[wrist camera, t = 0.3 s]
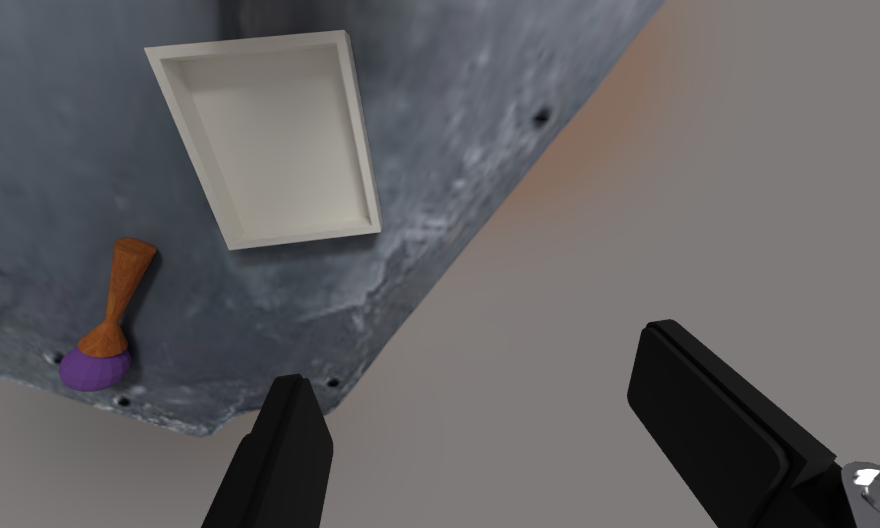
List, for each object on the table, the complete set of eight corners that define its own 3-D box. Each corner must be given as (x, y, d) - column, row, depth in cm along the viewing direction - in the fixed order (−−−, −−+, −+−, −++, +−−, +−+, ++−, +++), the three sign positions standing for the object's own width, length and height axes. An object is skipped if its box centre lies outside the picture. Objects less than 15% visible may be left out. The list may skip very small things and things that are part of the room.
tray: (170, 52, 29) (143, 47, 26) (349, 36, 30) (343, 29, 27) (243, 237, 38) (228, 250, 34) (382, 220, 38) (381, 232, 35)
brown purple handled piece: (159, 270, 34) (109, 406, 40) (179, 245, 39) (132, 369, 45) (82, 248, 32) (40, 398, 37) (114, 225, 37) (73, 360, 42)
